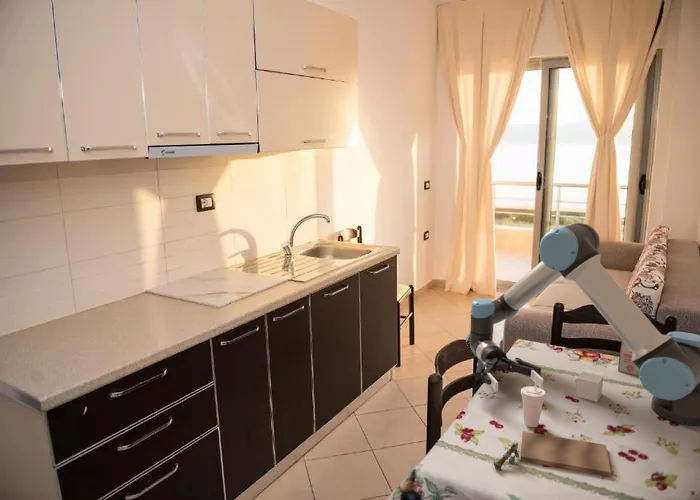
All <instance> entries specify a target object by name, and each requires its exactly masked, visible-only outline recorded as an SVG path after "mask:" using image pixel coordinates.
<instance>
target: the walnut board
mask: <svg viewBox="0 0 700 500" xmlns="http://www.w3.org/2000/svg"><path fill="white" fill-rule="evenodd" d="M519 458H520V459H519V461H521V462H526V463H532V464H537V465H542V466H548V467H553V468H559V469H566V470H570V471H575V472H583V473H585V474H586V473H587V474H592V475H599V476H603V477H609V478H611V475H612V473H611V467H610V466H611V465H610V460H609V455H608V449H607V444H602V443H597V442H590V441H586V440H585V441H584V440H578V439H573V438H566V437H561V436H553V435H548V434H541V433H537V432H529V431H522V434H521V444H520V454H519Z"/></svg>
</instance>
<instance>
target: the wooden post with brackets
mask: <svg viewBox="0 0 700 500" xmlns="http://www.w3.org/2000/svg"><path fill="white" fill-rule="evenodd" d="M518 446H519V443H517V442H516V443H513V444H512V445H511V446H510V448H509V449H508V450H506V452H505V453H504V454H503V456H502V457H501V458H500V459H499V460H497V461H494V462H493V466H494V467H495V468H497V469H498V470H500V471H502V470H503V469H502V467H503V465H504V463H505V462H506V461H507V462H508V464H511V463H512V464H513V463H514V462H515V461H516V458H517V459H519V458H520V454H519V452H518V448H519V447H518ZM512 454H514V455H512Z"/></svg>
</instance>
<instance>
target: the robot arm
mask: <svg viewBox="0 0 700 500" xmlns="http://www.w3.org/2000/svg"><path fill="white" fill-rule="evenodd" d="M600 247H601V239H600V235H599V233H598V232H597V230H596V229H594V227H592V226H591V225H589V224H586V223H583V222H582V223H579V222H578V223H571V224H569V225H564V226H558V227H555V228H553V229H552V230H549V231H547V232H546V233H545V234H544V235H543V236H542V237H541V240H540V241H539V246H538V248H539V249H538V253H539V254H538V255H539V257H540V259H541V260H540V262H539V263H538V264H536V265H535V266H534V267H533V268H532V269H531V270H529V271H528V272H527V273H526V274H525V275H523V276H522V277H521V278H520V279H519V280H518V281H516V282H515V283H514V284H513V285H512V286H510V288H508V289H507V290H506V291H505V292H504V293H502V295H500V296H499V297H498V298H496V299H495V300H492V299H489V298H475V299H474V300H473V301H472V302H471V308H470V332H469V333H468V334H467V336H466V339H465V341H466V342H467V341H470V342H469V343H468V344H470V348H471V350H472V351H471V350H470V351H471V353H473V355H475V357H477V360H476V361H477V362H476V371H475V381H480V380H481V384H487V385H489V386H490V387H491V388H492V389H493V391H494V392H498V391H499V381H497V379H496V378H495V377H494V376H493V375H494V374H495V373H496V372H502V371H503V372H508V373H511V374H513V373H517V374H519V375H520V374H521V375H524V376H526V377H530V379H531V380H532V381H533V382H534V383H535V376H537V387H538V388H541V389H544V378H543V376H542V372H541V371H542V367H539V366H537V365H535V364H532V363H529V362H528V361H525V360H522V359H521V358H520V357H515V359H514V360H512V359H511V358H509V357H508V356H507V354H506V352H505V351H504V350H503V349H502V348H501V347H499V346H498V345H497V344H496V343H495V342H494V340H493V339H494V325H496V324H498V323H501V322H502V321H505V320H507V319H511V318H513V317H514V316H516V315H517V314H518V313H519V310H521V308H523V307H524V306H525V305H527V304H528V303H529V302H530V301H532V300H533V299H534V298H535V297H537V296H538V295H539V294H541V293H542V292H543V291H545V290H546V289H547V288H548V287H549V286H551V285H552V284H553V283H554V282H556V281H557V280H558V279H559V278H561V277H563V278H564V280H565V281H570V282H571V281H572V282H574V283H575V284H576V286H577V287H578V288H579V289H580V290H581V291H582V293H583V294H584V295H585V297H587V298H588V300H589V301H590V303H592V304H593V306H594V307H595V308H596V310H597V311H598V313H600V314H601V316H602V317H603V318H604V320H605V321H607V323H608V324H609V325H610V327H611V328H612V329H613V331H615V332H616V334H617V335H618V337H620V339H621V340H622V342H625V344H626V345H627V346H628V347H629V349H630V350H631V351H632V361H633V363H634V364H635V365H636V366H637V367H638V369H639V374H640V376H638V377H639V380H640V383H641V385H642V386H643V388H644V389H645V390H646V392H648V393H649V394H651V396H652V397H651V405H650V406H651V409H652V411H653V412H655V413H656V414H657V415H658V416H660V417H662V418H664V419H666V420H669V421H671V422H674V423H678V424H682V425H687V426H700V334H697V333H690V332H687V331H686V332H685V331H684V332H683V331H670V332H668V333H666V334H662V333H661V332H660V331H659V330H658V329H657V327H655V325H653V323H652V322H651V320H649V318H648V317H647V316H646V315H645V314H644V312H643V311H642V310H641V309H640V308H639V306H638V305H637V304H636V303H635V302H634V301H633V300H632V299H631V298H630V296H629V295H628V294H627V293H626V291H625V290H624V289H623V288H622V287H621V286H620V285H619V283H618V282H617V281H616V280H615V279H614V278H613V276H612V275H611V274H610V273H609V272H608V270H607V269H606V268H605V267H604V266H603V265H602V263H601V256H602V255H601V253H600V252H599V249H600ZM477 335H478V336H477ZM485 367H486V368H485Z"/></svg>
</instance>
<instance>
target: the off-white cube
mask: <svg viewBox="0 0 700 500" xmlns="http://www.w3.org/2000/svg"><path fill="white" fill-rule="evenodd" d="M603 384H604V375H600V374H596V373H591V372H586V371H582V372H581V373H580V374H579V375H578V377H577V380H576V388H575V389H576V390H575V391H576V392H575V397H578V398H581V399H585V400H589V401H593V402H595V403H597V402H598V401H599V400H600V398H601V396H602V395H603Z"/></svg>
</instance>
